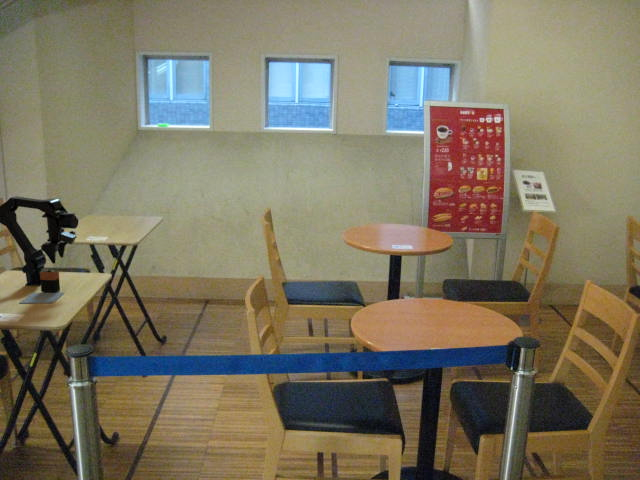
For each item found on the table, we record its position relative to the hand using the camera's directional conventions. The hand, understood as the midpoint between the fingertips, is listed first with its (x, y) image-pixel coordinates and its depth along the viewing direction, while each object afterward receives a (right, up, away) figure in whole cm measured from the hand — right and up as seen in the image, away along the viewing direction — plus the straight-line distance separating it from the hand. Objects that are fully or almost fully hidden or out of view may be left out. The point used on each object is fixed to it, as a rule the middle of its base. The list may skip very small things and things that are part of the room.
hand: (57, 260), depth 265 cm
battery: (-1, -14, -6) cm, 15 cm away
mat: (0, -16, -14) cm, 21 cm away
